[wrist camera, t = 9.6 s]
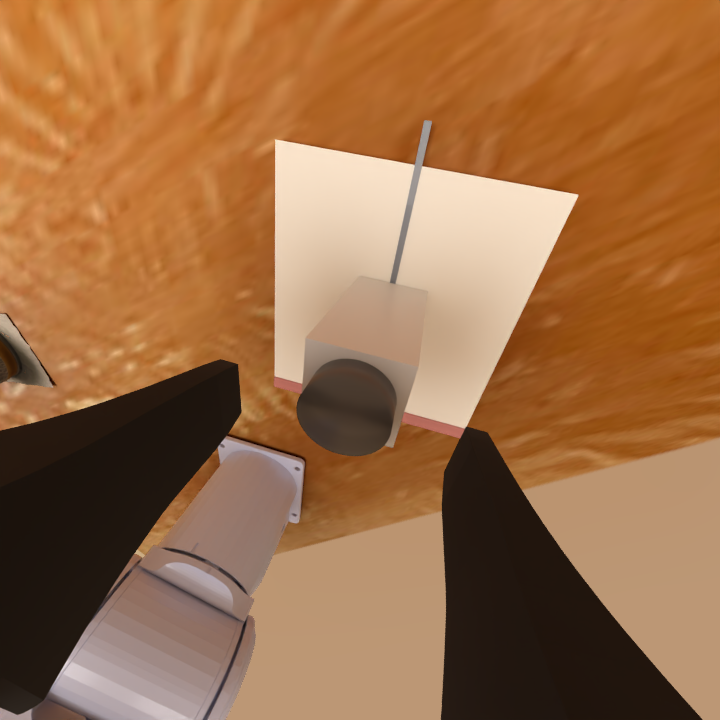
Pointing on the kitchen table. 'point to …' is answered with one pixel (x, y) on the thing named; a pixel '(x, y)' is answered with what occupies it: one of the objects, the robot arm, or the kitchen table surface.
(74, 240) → the kitchen table surface
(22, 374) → the condiment
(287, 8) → the kitchen table surface
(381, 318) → the white bottle
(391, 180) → the notepad
